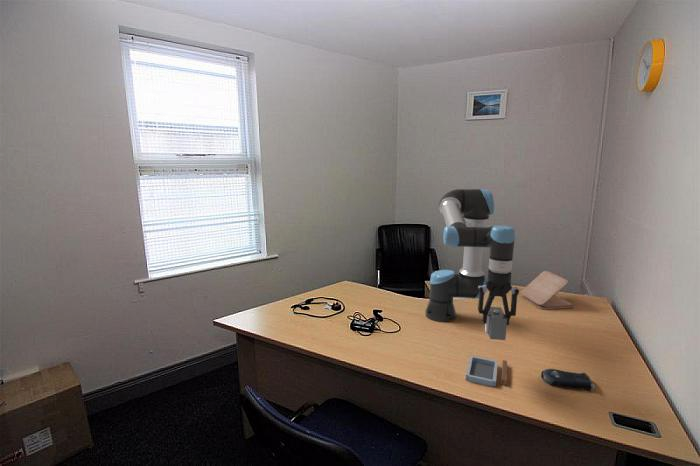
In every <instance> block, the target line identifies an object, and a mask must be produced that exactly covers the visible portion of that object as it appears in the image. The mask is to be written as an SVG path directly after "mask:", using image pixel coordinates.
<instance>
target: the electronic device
mask: <svg viewBox="0 0 700 466" xmlns="http://www.w3.org/2000/svg"><path fill="white" fill-rule="evenodd" d="M540 377H541V379H542V380H543V381H544V382H545V383H548V384H549V385H551V386H555V387H558V388H565V389H574V390H575V389H576V390H577V389H578V390H588V391H590V392H593V391H594V390H595V384H594V383H593V381H592V380H591V378H590V375H588V374H587V373H586V372H582V373H581V372H579V373H578V372H573V371H571V372H570V371H564V370H560V369H554V368H545V369H543V370H542V371H541V373H540Z"/></svg>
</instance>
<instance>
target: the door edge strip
mask: <svg viewBox="0 0 700 466" xmlns="http://www.w3.org/2000/svg"><path fill="white" fill-rule="evenodd" d="M507 365H508V360H502V365H501V366H502V367H501V384H500V385H501V386H506V385H507V370H508V369H507V368H508V366H507Z"/></svg>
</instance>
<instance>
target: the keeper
mask: <svg viewBox="0 0 700 466" xmlns="http://www.w3.org/2000/svg"><path fill="white" fill-rule="evenodd" d="M498 365H499V364H498V361H496V360H494V359H489V358H486V357H485V358H484V357H481V356H475V355H473V356H469V360H468V365H467V370H466V373H465V380H466V381H468V382H471V383H476V384H479V385H483V386H488V387H496V384H497V376H498V375H497V373H498Z"/></svg>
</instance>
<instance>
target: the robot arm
mask: <svg viewBox="0 0 700 466" xmlns="http://www.w3.org/2000/svg"><path fill="white" fill-rule="evenodd" d="M438 209H439V211H440V214H441V215H442V216H443V219H444V222H445V227H444V228H443V237H442V238H443V244H444V245H445V246H446V247H452V248H454V247H455V248H458V247H461V248H462V247H463V259H462V267H461V268H460V269H459V270H458V271H459V272H458V273H455V270H450V269H440V270H435V271H434V272H432V273H431V274H430V280H429V286H430V287H429V301H428V303H427V306H426V308H425V317H427V318H428V319H429V320H432V321H436V322H442V323H443V322H444V323H445V322H447V323H448V322H451V321H454V320H456V318H457V312H456V309H455V308H456V307H455V305H454V298H459V299H460V298H461V299H462V298H463V299H474V300H475V299H478V302H477V303H478V304H477V305H478V306H477V312H478V313H479V314H482V323H483V324H484V331H485V333H486V334H488V331H489V318H490V316H489V314H488V312H489V309H490V307H492V303H493V301H494V300H495V298H496V297H500V298H501V301H502V305H503V310H504V311H503V312H504V314H505V316H506V317H507V326H509V325H510V319H511V317H515V316H516V315H517V303H518V295H519V294H520V289H519V288H518V287H513V286H512V269H513V260H514V259H513V258H514V248H515V241H516V233H515V232H516V231H515V230H516V229H515V228H513V227H511V226H508V225H488V226H486V222H487V221H488V220H489V219H490V216H492V215H493V214H494V211H495V202H494V196H493V193H492V192H491V190H489V189H484V188H483V189H481V188H472V189H471V188H470V189H469V188H467V189H466V188H465V189H462V188H461V189H460V188H456V189H452V190H450V191H448V192H446V193H445V194H444V195H443V196H442V197H441V198H440V200H439V203H438ZM484 248H489V259H488V269H489V270H488V271H487V276H486V275H485V272H484V271H483V270H482V265H483V264H482V261H483V251H484ZM487 290H488V292H489V293H488V296H487V299H486V302H485V304H484V301H485V299H484V297H485V295H486V293H487ZM509 292H511V299H510V309H509V304H508V297H507V296H508V295H507V294H508V293H509Z"/></svg>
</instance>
